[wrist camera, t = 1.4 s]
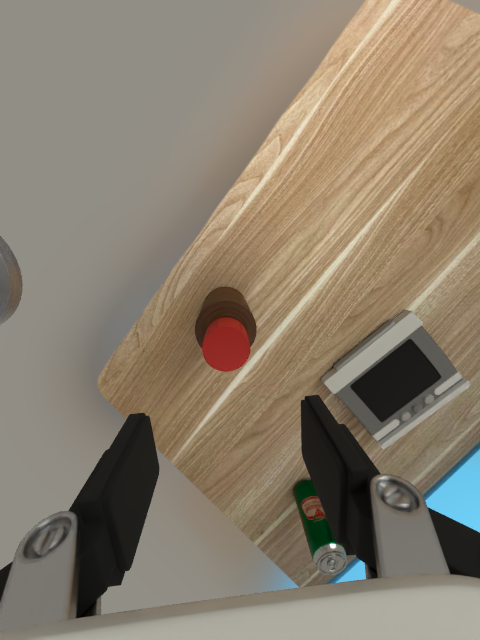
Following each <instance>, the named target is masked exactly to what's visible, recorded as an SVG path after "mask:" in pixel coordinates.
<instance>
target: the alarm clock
mask: <svg viewBox="0 0 480 640" xmlns="http://www.w3.org/2000/svg"><path fill="white" fill-rule="evenodd" d="M421 325H423V323H422V321H421V320H420V319H419V318H418V317H417V316H416V315H415V313H414V312H413V311H408V310H404V311H403V312H402V313H401V314H399V315H398V316H397V317H396V318H394V319H393V320H392V321H391V320H390V321H388V322H386V323H385V324H384V325H382V326H381V327H380V328H379V329H377V330H376V331H375V332H374V333H372V334H371V335H370V336H369V337H368V338H366V339H365V340H364V341H363V342H361V343H360V344H359V345H358V346H356V347H355V348H354V349H353V350H352V351H350V352H349V353H348V354H347V355H345V356H344V357H343V358H342V359H340V360H339V361H338V362H337V363H336V364H335V365H334V368H333V369H331V370H330V371H329V372H328V373H326V374H325V375H324V376H323V377H322V378H320V379H321V380H322V382H323V383H324V384H325V385H326V386H327V387H328V388H329V390H330V391H331V392H332V393H333V394H336V395H337V396H338V397H339V398H340V399H341V400H342V401H343V402H344V403H345V405H346V406H347V407H348V408H349V409H350V410H351V411H352V412H353V414H354V415H355V416H356V417H357V418H358V419H359V420H360V421H361V422H362V424H363V425H364V427H365V428H366V429H367V430H368V432H369V433H370V434H371V435H372V437H373V438H374V439H375V440H376V441H377V443H378V444H379V445H380V446H381V447H382V448H383V449H385V448H387V447H388V446H389V445H391V444H392V443H394V442H395V441H396V440H398V439H399V438H400V437H402V436H403V435H404V434H406V433H407V432H408V431H410V430H411V429H413V428H414V427H415V426H417V425H418V424H419V423H421V422H422V421H423V420H425V419H426V418H427V417H429V416H430V415H431V414H433V413H434V412H436V411H437V410H438V409H440V408H441V407H442V406H444V405H445V404H446V403H448V402H449V401H450V400H452V399H453V398H455V397H456V396H457V395H459V394H460V393H461V392H463V391H464V390H465V389H467V388H468V387H469V386H471V385H470V383H469V381H468V380H466V379H464V378H463V377H462V375H461V374H460V372H459V371H457V370H456V369H455V367H454V366H453V365H452V363H451V362H450V360H449V359H448V358H447V356H446V355H445V354H444V352H443V351H442V350H441V348H440V347H439V346H438V345H437V343H436V342H435V341H434V340H433V339H432V337H431V336H430V335H429V334H428V333H427V332H426V330H425V329H424V328H423V327H422V326H421Z"/></svg>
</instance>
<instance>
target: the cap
mask: <svg viewBox="0 0 480 640" xmlns="http://www.w3.org/2000/svg"><path fill="white" fill-rule="evenodd" d="M202 344H203V347H202V351H203V356H204V358H205V360H206V362H207V363H208V364H209V365H210V366H211V367H213V368H214V369H216V370H219V371H233V370H236V369H238V368H240V367H241V366H242V365H243V364H245V362H246V361H247V359H248V357H249V355H250V343H249V337H248V333H247V331H246V330H245V328H244V326H243V325H242V324H241V322H239V321H238V320H236V319H233V318H229V317H224V318H218V319H217V320H215V321H213V322H212V323H211V324H210V325H209V327H208V328H207V330H206V334H205V335H204V339H203V343H202Z"/></svg>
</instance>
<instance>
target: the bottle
mask: <svg viewBox="0 0 480 640" xmlns="http://www.w3.org/2000/svg"><path fill="white" fill-rule="evenodd" d="M224 317H229V318H233V319H236V320H238V321H239V322H241V324H242V325H243V326H244V328H245V330H246V331H247V333H248V337H249V343H250V347H251V346H252V344H253V342H254V340H255V337H256V322H255V319H254V317H253V315H252V313H251V311H250V309H249V307H248V305H247V303H246V301H245V299H244V297H243V295H242V294H241V293H240V292H239V291H238V290H236V289H234V288H231V287H219V288H217V289H215V290H213V291H212V292H211V293H210V294H209V295H208V296H207V298H206V300H205V302H204V304H203V307H202V309H201V311H200V314H199V316H198V318H197V321H196V325H195V335H196V339H197V341H198V343H199V345H200V346H201V348H202V347H203V344H202V343H203V339H204V335H205V334H206V330H207V328H208V327H209V325H210V324H211V323H212V322H213V321H215V320H217V319H218V318H224Z"/></svg>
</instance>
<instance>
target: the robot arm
mask: <svg viewBox="0 0 480 640" xmlns="http://www.w3.org/2000/svg"><path fill="white" fill-rule="evenodd" d="M301 440H302V456H303V459H304V462H305V464H306V467H307V470H308V472H309V475H310V477H311V480H312V482H313V485H314V487H315V490H316V492H317V495H318V498H319V500H320V503H321V505H322V508H323V510H324V513H325V515H326V518H327V521H328V523H329V526H330V528H331V531H332V533H333V536H334V538H335V541H336V542H337V543H338V544H339V543H342V545H343V548H344V550H345V553H346V555H355V554H356V556H357V558H358V559H360V560H361V561H363V562H364V563H365V570H366V579H365V580H356V581H348V582H340V583H333V584H325V585H317V586H309V587H301V588H294V589H286V590H278V591H270V592H263V593H255V594H248V595H240V596H233V597H226V598H218V599H212V600H203V601H196V602H189V603H182V604H175V605H167V606H160V607H153V608H146V609H139V610H132V611H124V612H117V613H110V614H104V615H101V595H102V594H104V592H106V590H107V588H108V587H110V586H117V585H121V583H122V580H123V577H124V573H125V571H128V570H130V568H131V566H132V563H133V559H134V556H135V553H136V549H137V546H138V543H139V539H140V536H141V533H142V529H143V526H144V523H145V519H146V516H147V512H148V509H149V506H150V503H151V499H152V496H153V492H154V489H155V486H156V482H157V479H158V475H159V463H158V458H157V452H156V447H155V442H154V437H153V432H152V426H151V421H150V417H149V416H146V415H145V413H137V414H130V415H129V416H128V418H127V420H126V422H125V423H124V425H123V427H122V428H121V430H120V431H119V433H118V435H117V437H116V438H115V440H114V441H113V443H112V445H111V446H110V448H109V449H108V450H106V451H105V452H104V454H103V455H102V457H101V458H100V460H99V462H98V463H97V465H96V467H95V468H94V470H93V472H92V473H91V475H90V477H89V478H88V480H87V481H86V483H85V485H84V486H83V488H82V490H81V491H80V493H79V495H78V496H77V498H76V499H75V501H74V503H73V504H72V506H71V507H70V509H69V511H63V512H59V513H55V514H53V515H51V516H49V517H47V518H45V519H43V520H42V521H41V522H39V523H38V524H37V525H35V526H34V527H33V528H32V529H31V530H30V531H29V532H28V533H27V534H26V535H25V537H24V538H23V539H22V541H21V542H20V544H19V546H18V549H17V550H16V553H15V557H14V560H13V562H11V563H10V564H8V565H7V566H6V567H4V568H3V569H2V570H0V640H480V533H479V532H477V531H475V530H473V529H471V528H469V527H467V526H465V525H463V524H461V523H459V522H457V521H455V520H453V519H451V518H449V517H446V516H445V515H442V514H440V513H438V512H436V511H434V510H432V509H430V508H428V507H427V505H426V502H425V499H424V498H423V496H422V494H421V493H420V491H419V490H418V489H417V488H416V487H415V486H414V485H412V484H411V483H410V482H409V481H407V480H405V479H403V478H401V477H399V476H395V475H392V474H380V472H379V471H378V470H377V468H376V467H375V465H374V464H373V463H372V461H371V460H370V459H369V457H368V456H367V454H366V453H365V452H364V450H363V449H362V447H361V446H360V445H359V443H358V442H357V440H356V439H355V438H354V436H353V435H352V434H351V432H350V431H349V429H348V428H347V427H346V426H345V425H344V424H338V423H337V421H336V420H335V418H334V417H333V415H332V414H331V413H330V411H329V410H328V408H327V407H326V405H325V404H324V402H323V401H322V399H321V398H320V396H319V395H312V396H305V400H301Z"/></svg>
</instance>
